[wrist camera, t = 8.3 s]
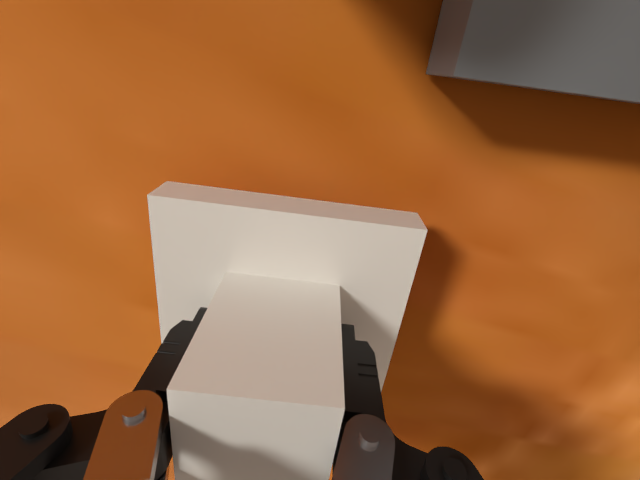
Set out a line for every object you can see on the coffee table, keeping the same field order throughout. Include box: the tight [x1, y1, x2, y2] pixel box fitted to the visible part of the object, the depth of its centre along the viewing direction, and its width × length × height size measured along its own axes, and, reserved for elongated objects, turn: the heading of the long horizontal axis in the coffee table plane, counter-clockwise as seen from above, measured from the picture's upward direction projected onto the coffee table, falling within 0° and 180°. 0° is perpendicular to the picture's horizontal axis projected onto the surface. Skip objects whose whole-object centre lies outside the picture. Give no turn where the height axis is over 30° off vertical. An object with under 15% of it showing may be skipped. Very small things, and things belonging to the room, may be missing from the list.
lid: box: [147, 181, 428, 480], centre depth 12 cm, size 9×9×6 cm
